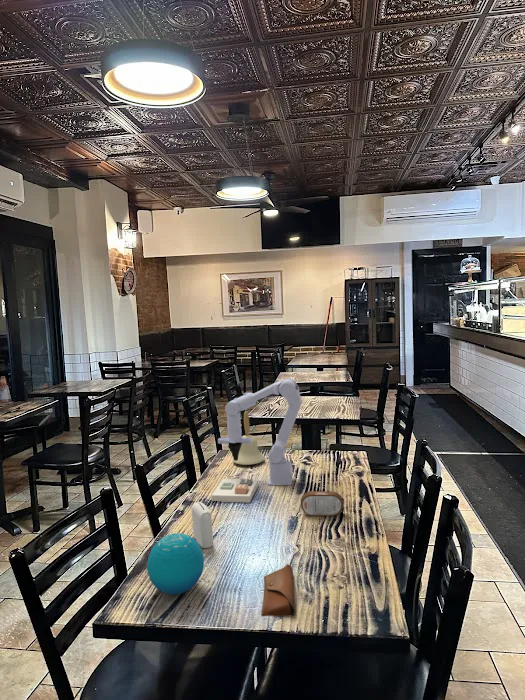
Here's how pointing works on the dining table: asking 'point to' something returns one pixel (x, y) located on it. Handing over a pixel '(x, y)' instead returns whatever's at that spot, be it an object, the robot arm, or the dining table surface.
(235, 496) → the key panel
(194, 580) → the decorative orb
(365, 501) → the dining table surface
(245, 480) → the key one
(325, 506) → the tin
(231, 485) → the key three
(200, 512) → the photo printer
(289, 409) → the robot arm
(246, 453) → the handbell
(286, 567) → the sunglasses case
